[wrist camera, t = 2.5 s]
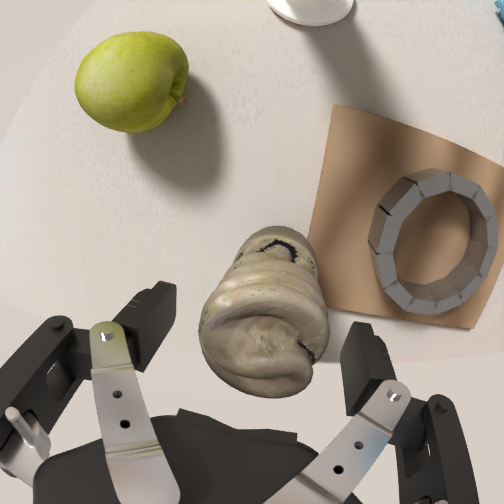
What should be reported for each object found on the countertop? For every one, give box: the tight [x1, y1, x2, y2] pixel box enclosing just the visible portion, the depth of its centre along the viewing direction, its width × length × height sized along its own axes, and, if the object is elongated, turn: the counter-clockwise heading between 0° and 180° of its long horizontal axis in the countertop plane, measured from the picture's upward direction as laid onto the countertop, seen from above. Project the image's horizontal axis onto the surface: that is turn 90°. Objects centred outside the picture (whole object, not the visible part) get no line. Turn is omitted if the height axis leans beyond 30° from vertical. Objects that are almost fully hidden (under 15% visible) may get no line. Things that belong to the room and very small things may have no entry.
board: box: [307, 105, 504, 329], centre depth 21 cm, size 20×16×1 cm
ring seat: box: [368, 168, 498, 315], centre depth 19 cm, size 11×11×3 cm
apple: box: [75, 32, 189, 133], centre depth 16 cm, size 8×9×8 cm
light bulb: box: [198, 226, 330, 398], centre depth 16 cm, size 6×6×15 cm
